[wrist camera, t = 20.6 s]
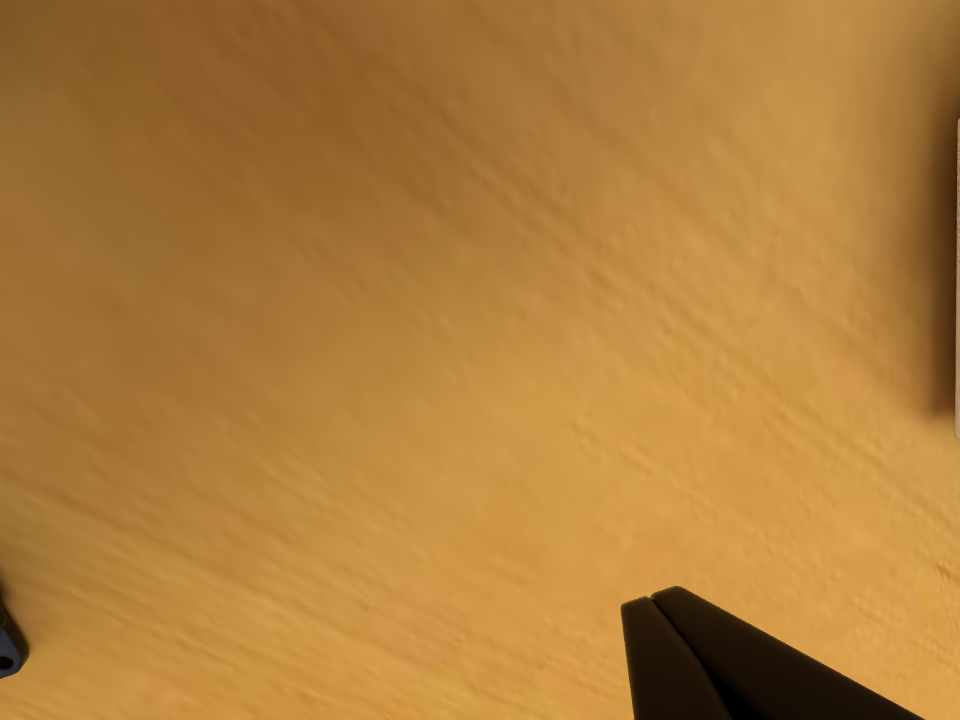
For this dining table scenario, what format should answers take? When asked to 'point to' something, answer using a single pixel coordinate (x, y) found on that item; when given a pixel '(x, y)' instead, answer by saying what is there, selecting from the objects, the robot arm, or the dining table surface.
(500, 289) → the dining table surface
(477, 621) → the dining table surface
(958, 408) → the drawer
